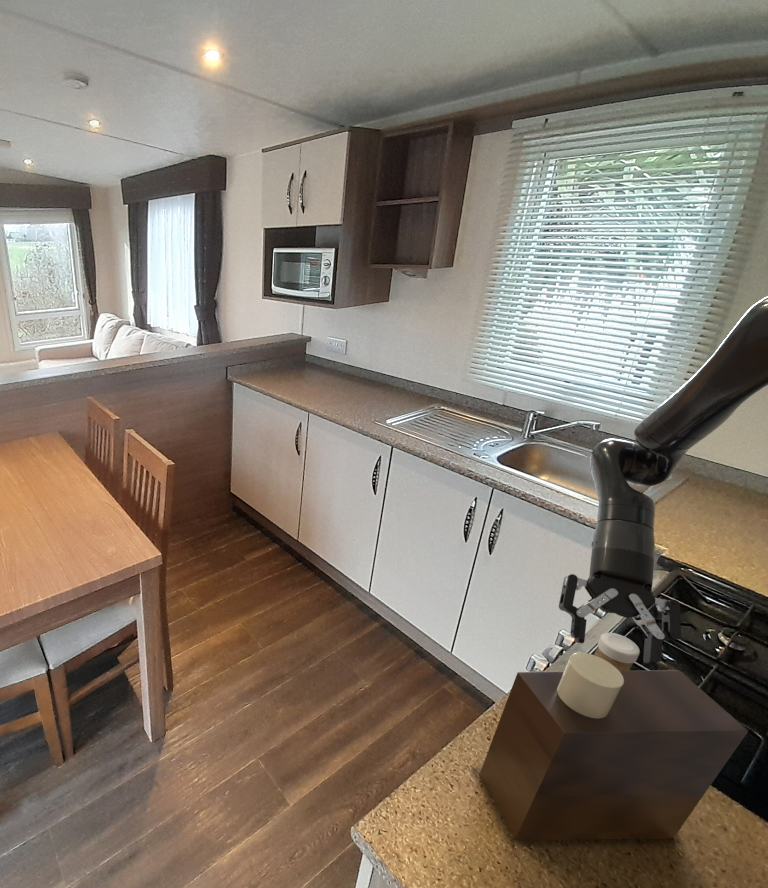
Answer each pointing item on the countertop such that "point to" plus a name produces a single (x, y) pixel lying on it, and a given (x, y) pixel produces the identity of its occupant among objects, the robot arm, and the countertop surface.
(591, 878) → the countertop surface
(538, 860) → the countertop surface
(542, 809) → the block
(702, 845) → the countertop surface
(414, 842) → the countertop surface
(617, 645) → the sprinkles bottle
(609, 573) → the robot arm
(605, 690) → the cream squat cylinder
